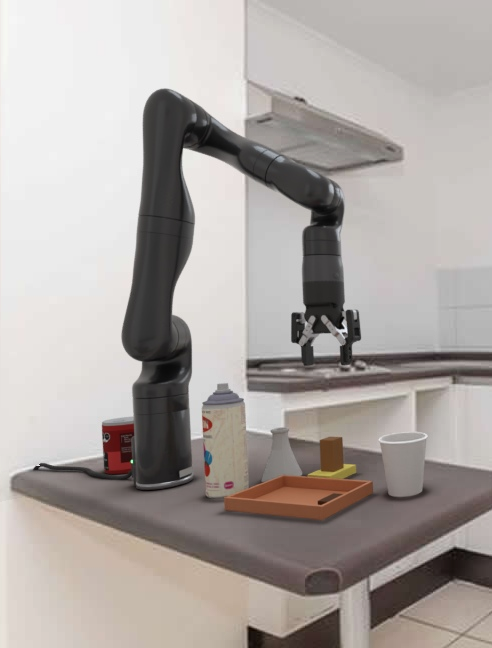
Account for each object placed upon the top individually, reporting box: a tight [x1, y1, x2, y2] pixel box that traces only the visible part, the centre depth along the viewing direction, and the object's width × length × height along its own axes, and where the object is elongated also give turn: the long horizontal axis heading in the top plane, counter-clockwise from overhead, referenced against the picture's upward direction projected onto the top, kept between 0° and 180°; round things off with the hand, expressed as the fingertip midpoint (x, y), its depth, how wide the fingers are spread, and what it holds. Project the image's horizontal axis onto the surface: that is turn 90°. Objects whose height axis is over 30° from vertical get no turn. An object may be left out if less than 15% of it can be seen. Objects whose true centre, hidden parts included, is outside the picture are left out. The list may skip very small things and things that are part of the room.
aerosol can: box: [201, 382, 250, 499], centre depth 99 cm, size 7×7×20 cm
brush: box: [307, 436, 357, 479], centre depth 106 cm, size 5×8×8 cm, turn 161°
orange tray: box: [223, 475, 374, 521], centre depth 92 cm, size 19×13×2 cm
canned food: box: [101, 416, 134, 475], centre depth 120 cm, size 8×8×11 cm
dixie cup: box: [378, 431, 429, 498], centre depth 96 cm, size 8×8×10 cm
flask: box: [260, 426, 303, 483], centre depth 107 cm, size 7×7×10 cm
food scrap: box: [318, 493, 343, 505], centre depth 90 cm, size 4×4×1 cm
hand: (326, 365), depth 106 cm, fingers open, 8 cm apart
